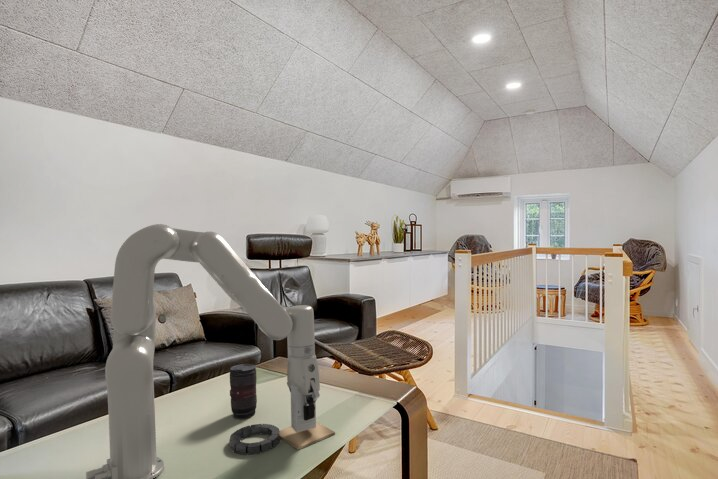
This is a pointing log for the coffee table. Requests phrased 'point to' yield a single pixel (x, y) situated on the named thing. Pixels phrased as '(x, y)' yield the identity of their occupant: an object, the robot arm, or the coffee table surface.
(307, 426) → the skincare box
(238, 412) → the camera lens
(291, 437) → the pad
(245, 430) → the collar
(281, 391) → the coffee table surface
